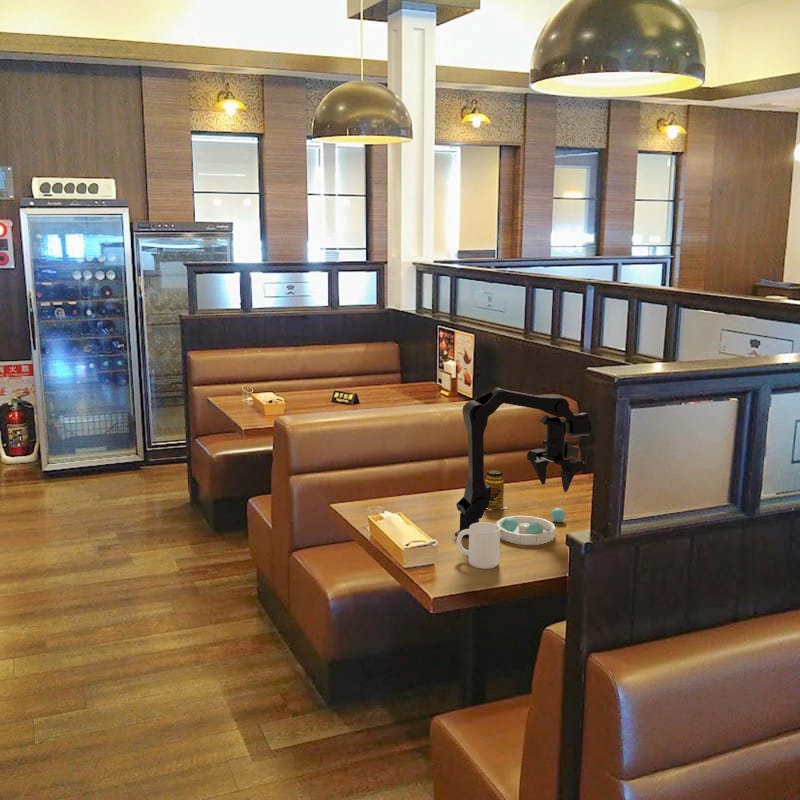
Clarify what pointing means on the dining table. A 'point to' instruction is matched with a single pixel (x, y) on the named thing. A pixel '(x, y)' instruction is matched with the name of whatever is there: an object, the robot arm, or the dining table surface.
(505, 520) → the bead
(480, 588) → the dining table surface
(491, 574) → the dining table surface
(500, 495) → the condiment
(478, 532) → the mug
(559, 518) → the bead
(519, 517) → the groove tray
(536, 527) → the bead
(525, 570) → the dining table surface
